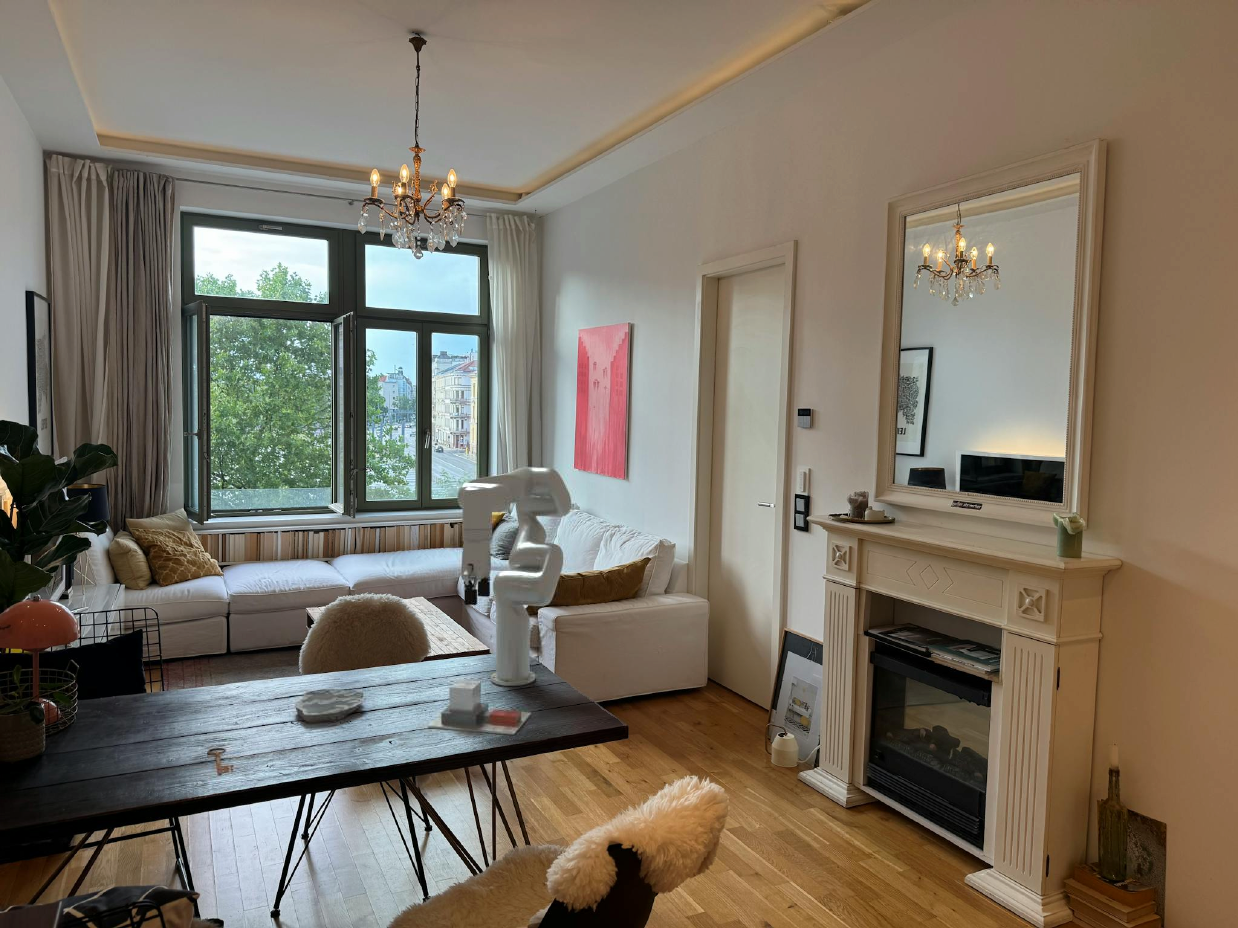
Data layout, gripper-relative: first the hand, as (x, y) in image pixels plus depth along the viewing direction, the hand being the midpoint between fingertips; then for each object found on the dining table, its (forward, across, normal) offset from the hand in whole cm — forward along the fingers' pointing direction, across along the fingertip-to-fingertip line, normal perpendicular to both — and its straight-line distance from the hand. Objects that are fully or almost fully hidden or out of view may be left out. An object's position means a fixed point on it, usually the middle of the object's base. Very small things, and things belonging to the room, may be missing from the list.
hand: (477, 600), depth 225 cm
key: (+29, +44, -43) cm, 68 cm away
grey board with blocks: (+28, +9, +4) cm, 30 cm away
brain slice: (+29, +10, -36) cm, 47 cm away
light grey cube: (+25, +9, 0) cm, 27 cm away
